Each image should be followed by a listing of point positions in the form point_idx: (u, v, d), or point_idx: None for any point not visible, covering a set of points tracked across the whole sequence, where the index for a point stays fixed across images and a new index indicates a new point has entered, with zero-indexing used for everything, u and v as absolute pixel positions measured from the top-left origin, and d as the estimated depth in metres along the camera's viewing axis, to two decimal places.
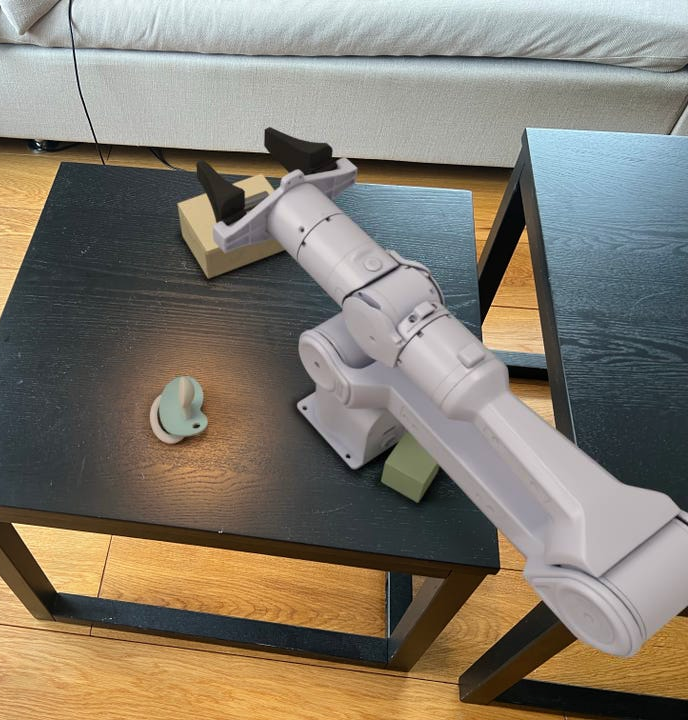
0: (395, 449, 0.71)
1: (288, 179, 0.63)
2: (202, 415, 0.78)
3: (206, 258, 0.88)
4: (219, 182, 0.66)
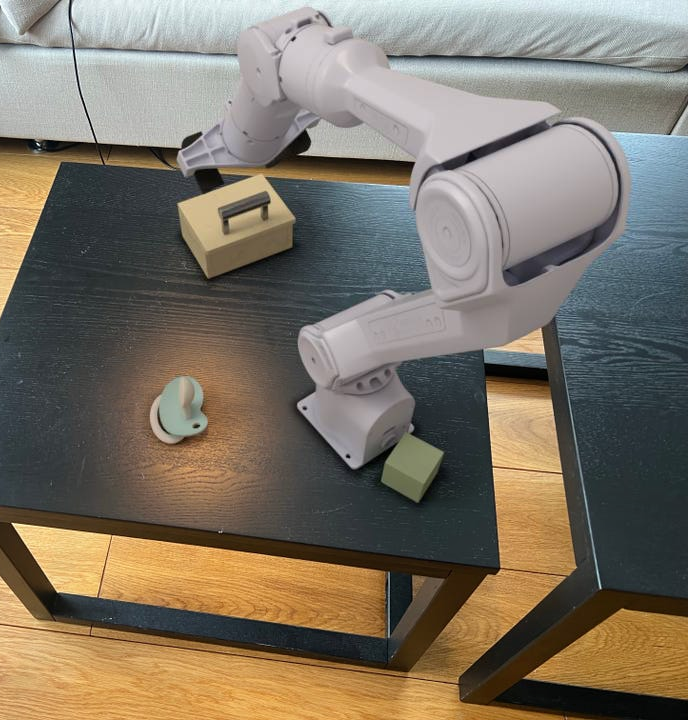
0: (395, 449, 0.71)
1: (228, 100, 0.71)
2: (202, 415, 0.78)
3: (206, 258, 0.88)
4: None
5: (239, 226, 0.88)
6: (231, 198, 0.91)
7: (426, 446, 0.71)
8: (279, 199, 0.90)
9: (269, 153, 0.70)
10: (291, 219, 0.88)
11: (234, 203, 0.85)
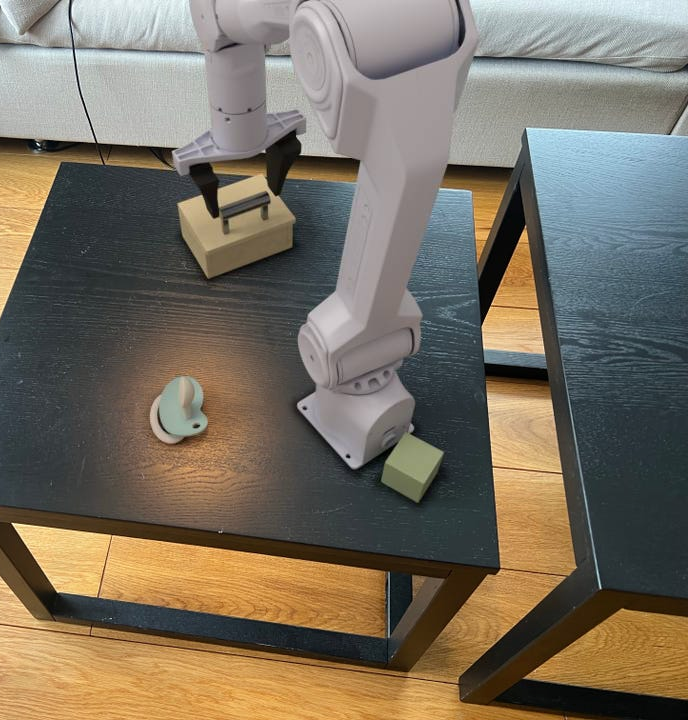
0: (395, 449, 0.71)
1: None
2: (202, 415, 0.78)
3: (206, 258, 0.88)
4: None
5: (239, 226, 0.88)
6: (231, 198, 0.91)
7: (426, 446, 0.71)
8: (279, 199, 0.90)
9: (251, 137, 0.75)
10: (291, 219, 0.88)
11: (234, 203, 0.85)
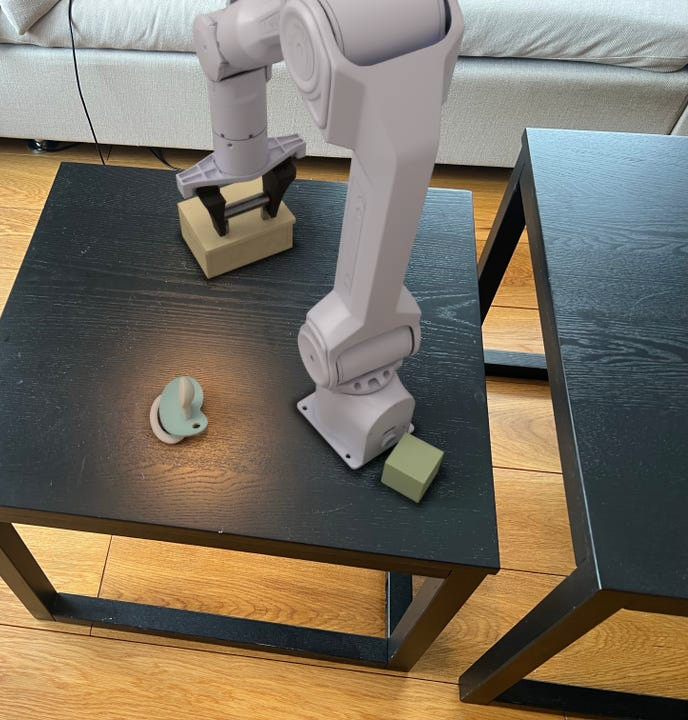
0: (395, 449, 0.71)
1: None
2: (202, 415, 0.78)
3: (206, 258, 0.88)
4: None
5: (239, 226, 0.88)
6: (231, 198, 0.91)
7: (426, 446, 0.71)
8: None
9: (253, 162, 0.78)
10: (291, 219, 0.88)
11: (234, 203, 0.85)
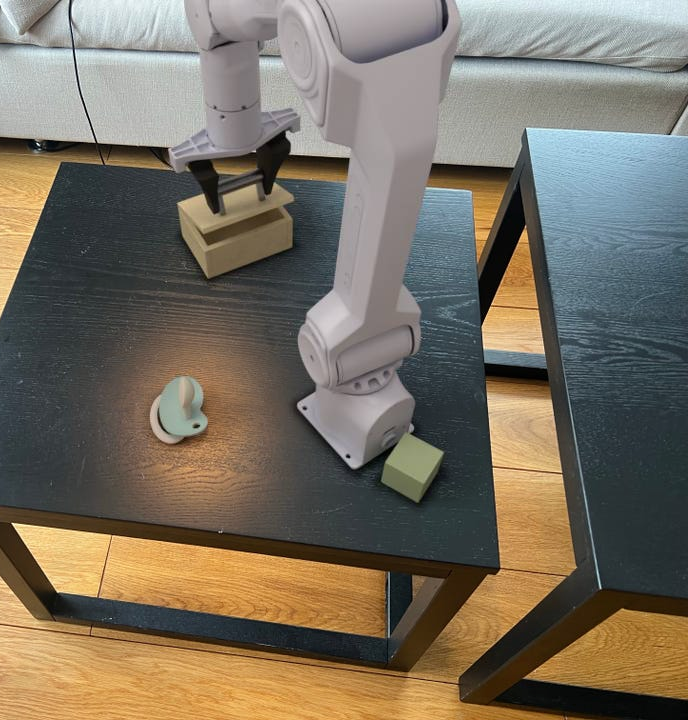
0: (395, 449, 0.71)
1: None
2: (202, 415, 0.78)
3: (206, 258, 0.88)
4: None
5: (236, 208, 0.87)
6: None
7: (426, 446, 0.71)
8: (277, 186, 0.89)
9: (246, 135, 0.77)
10: (289, 196, 0.86)
11: (226, 179, 0.84)
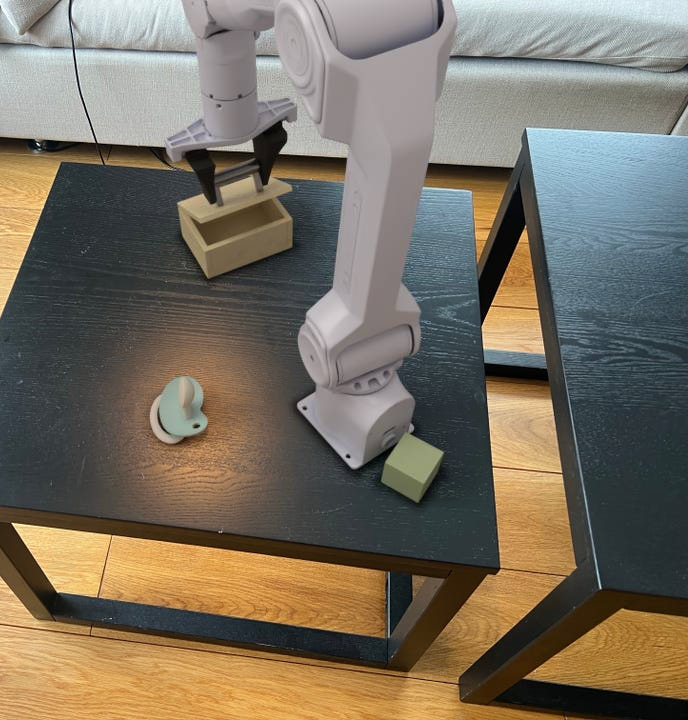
0: (395, 449, 0.71)
1: None
2: (202, 415, 0.78)
3: (206, 258, 0.88)
4: None
5: (234, 200, 0.86)
6: (229, 189, 0.91)
7: (426, 446, 0.71)
8: (276, 180, 0.89)
9: (243, 124, 0.76)
10: (287, 186, 0.86)
11: (223, 169, 0.84)
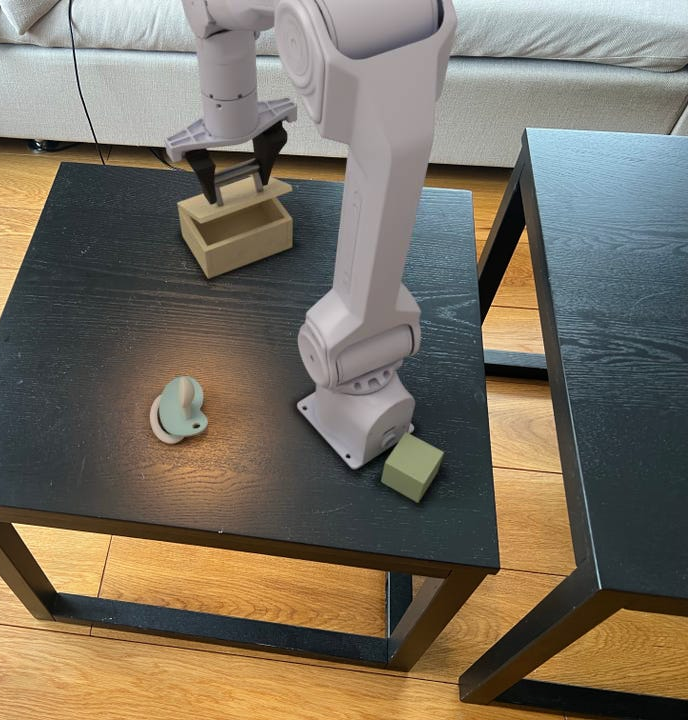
0: (395, 449, 0.71)
1: None
2: (202, 415, 0.78)
3: (206, 258, 0.88)
4: None
5: (234, 200, 0.86)
6: (229, 189, 0.91)
7: (426, 446, 0.71)
8: (276, 180, 0.89)
9: (243, 124, 0.76)
10: (287, 186, 0.86)
11: (223, 169, 0.84)
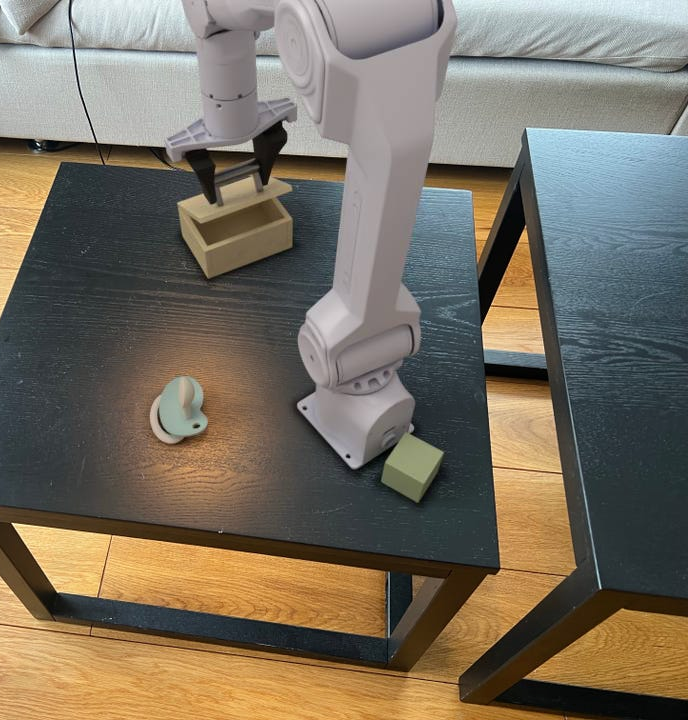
0: (395, 449, 0.71)
1: None
2: (202, 415, 0.78)
3: (206, 258, 0.88)
4: None
5: (234, 200, 0.86)
6: (229, 189, 0.91)
7: (426, 446, 0.71)
8: (276, 180, 0.89)
9: (243, 124, 0.76)
10: (287, 186, 0.86)
11: (223, 169, 0.84)
